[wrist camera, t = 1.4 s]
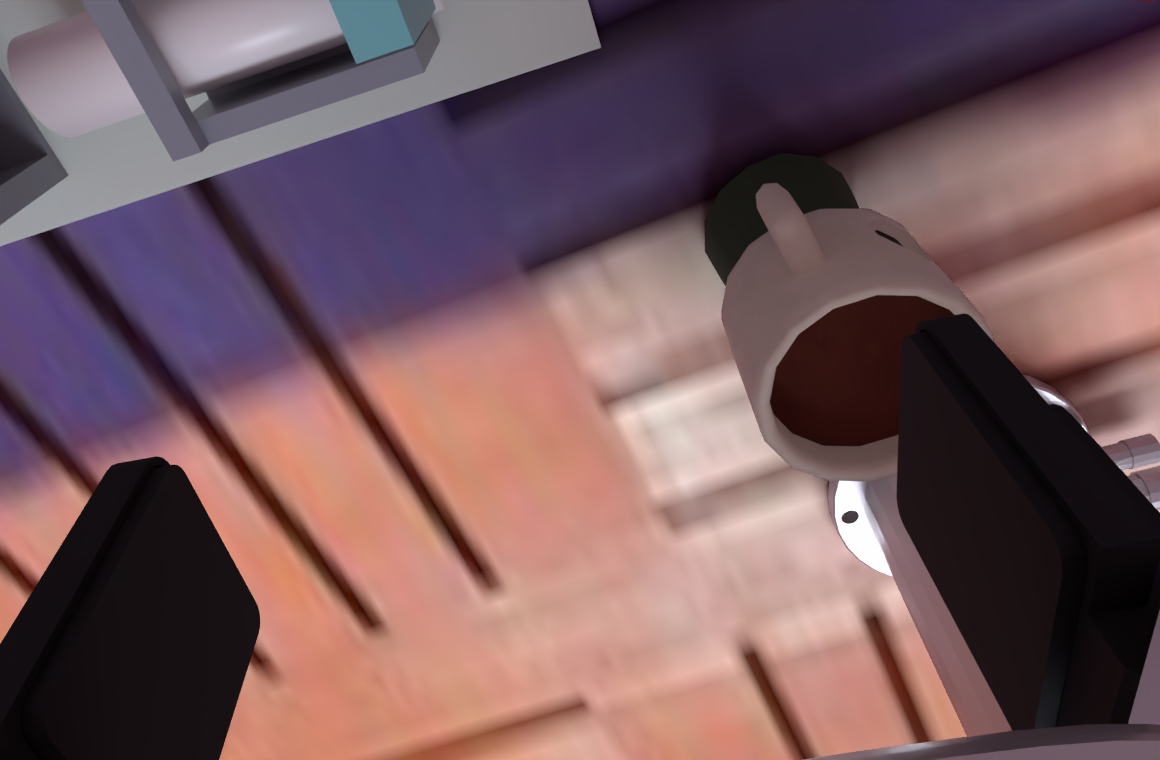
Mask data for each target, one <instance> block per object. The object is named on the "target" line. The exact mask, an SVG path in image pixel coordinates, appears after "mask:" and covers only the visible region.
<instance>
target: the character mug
mask: <svg viewBox="0 0 1160 760" xmlns="http://www.w3.org/2000/svg"><path fill="white" fill-rule="evenodd" d="M705 252H706V254H707V255H708V257H709V259H710V261H711V262H712V264H713V266H714V268H715V269H716V271H717V273H718V275H719V276H720V278H721V280H722V281H723V283H724V284H725V286H726V289H725V295H724V300H723V306H722V321H723V325H724V328H725V331H726V334H727V337H728V341H729V344H730V347H731V350H732V353H733V356H734V359H735V361H736V364H737V367H738V370H739V373H740V375H741V378H742V381H743V384H744V386H745V389H746V392H747V395H748V398H749V400H750V403H751V406H752V409H753V412H754V414H755V417H756V420H757V423H758V425H759V428H760V431H761V433H762V436H763V438H764V440H765V442H766V443H767V444H768V445H769V446H770V447H771V448H772V449H773V450H774V451H776V452H777V453H778V454H779V455H780V456H781V457H782V458H783V459H784V460H785V461H786V462H787V463H788V464H789V465H790V466H791V467H793V468H795V469H798V470H801V471H803V472H806V473H809V474H812V475H814V476H817V477H820V478H822V479H825V480H828V481H875V480H878V479H882V478H885V477H889V476H892V475H896V474H897V462H898V432H899V402H900V371H901V346H902V340H903V337H904V336H906V335H911V334H915V329H916V326H917V324H918V323H919V322H920V321H924V320H929V319H935V318H941V317H946V316H952V315H957V314H963V313H964V314H969V315H970V316H971V317H972V318H973V319H974V320H975V321H976V322H977V323H978V325H979V326H980V327H981V328H982V329H983V330H984V331H985V333H986V334H987V335H988V336H989V337H990V338H991V339H992V341H993V342H994V340H993V335H992V332H991V330H990V328H989V327H988V325H987V323H986V322H985V320H984V318H983V317H982V315H981V314H980V313H979V311H978V310H977V309H976V308H975V306H974V305H973V304H972V303H971V302H970V301H969V300H968V299H967V297H966V296H965V295H964V294H963V293H962V292H961V291H960V289H959V288H958V287H957V286H956V285H955V284H954V283H953V282H952V281H951V280H950V279H949V278H948V277H947V275H946V274H945V273H944V272H943V271H942V270H941V268H940V267H939V266H938V265H937V264H936V263H935V262H934V261H933V260H932V259H931V258H930V257H929V256H928V254H927V253H926V252H925V251H924V250H923V249H922V248H921V247H920V245H919V244H918V243H917V242H916V240H915V239H914V238H913V237H912V236H911V234H910V233H909V232H908V231H907V230H906V229H905V227H904V226H902V225H901V224H900V223H898V222H896V221H894V220H892V219H890V218H888V217H886V216H884V215H882V214H880V213H878V212H876V211H873V210H871V209H859V207H858V204H857V202H856V200H855V197H854V195H853V193H852V191H851V190H850V188H849V186H848V184H847V182H846V181H845V179H844V177H843V175H842V173H840V172H838V171H837V170H835V169H834V168H832V167H831V166H829V165H828V164H826V163H825V162H823V161H822V160H820V159H819V158H817V157H814V156H805V155H796V154H788V153H780V154H777V155H775V156H772V157H770V158H767V159H765V160H762V161H760V162H757V163H755V164H752V165H750V166H747V167H746V168H745V169H744V170H743V171H742V172H741V173H739V174H738V175H737V176H736V177H735V178H734V179H733V180H731V181H730V182H729V183H728V184H727V185H726V186H725V187H723V188H722V189H721V190H720V192H719V194H718V196H717V198H716V200H715V202H714V204H713V206H712V208H711V210H710V212H709V214H708V216H707V218H706V220H705Z"/></svg>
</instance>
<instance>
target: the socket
mask: <svg viewBox="0 0 1160 760" xmlns="http://www.w3.org/2000/svg"><path fill="white" fill-rule="evenodd" d="M67 176H69V175H68V173H67V172H66V170H65V169H64V167H63V166H62V164H61V162H60V161H59V159H58V158H57V156H56V155H55V153H54V152H53V150H52V148H51V147H50V145H49V144H48V142H47V141H46V139H45V137H44V136H43V134H42V133H41V131H40V130H39V128H38V127H37V125H36V123H35V122H34V120H33V119H32V117H31V116H30V114H29V113H28V111H27V109H26V108H25V106H24V105H23V103H22V102H21V100H20V98H19V97H18V95H17V94H16V92H15V91H14V89H13V88H12V86H11V84H10V83H9V81H8V80H7V78H6V77H5V75H4V73H3V72H2V70H1V69H0V225H1V224H3V223H4V222H5V221H7V220H8V219H9V218H11V217H12V216H14V215H15V214H16V213H18V212H19V211H20V210H22V209H23V208H25V207H26V206H27V205H29V204H30V203H31V202H33V201H34V200H36V199H37V198H38V197H40V196H41V195H43V194H44V193H45V192H47V191H48V190H49V189H51V188H52V187H54V186H55V185H56V184H58V183H59V182H60V181H62V180H63V179H65V178H66V177H67Z"/></svg>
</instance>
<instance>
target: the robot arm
mask: <svg viewBox="0 0 1160 760" xmlns="http://www.w3.org/2000/svg"><path fill="white" fill-rule="evenodd" d="M1157 462H1160V444H1159V442H1158V441H1157V439H1156V438H1155V437H1154V436H1153V435H1151V434H1146V435H1142V436H1138V437H1134V438H1130V439H1126V440H1122V441H1119V442H1118V443H1116V444H1112V445H1108V446H1104V447H1101V446H1100V445H1099V444H1097V442H1096V441H1095V440H1094V439H1093V438H1092V437H1091V436H1090V432H1089V430H1088V428H1087V426H1086V424H1085V422H1084V421H1083V419H1082V417H1081V415H1080V414H1079V413H1078V412H1077V410H1076V409H1075V408H1074V407H1073V406H1072V405H1071V404H1070V402H1069V401H1068V400H1067V399H1066V398H1065V397H1064V396H1062V395H1061V394H1060V393H1059V392H1057V391H1056V390H1055V389H1054V388H1053V387H1051V386H1050V385H1048V384H1046V383H1043V382H1041V381H1039V380H1037V379H1035V378H1033V377H1031V376H1027V375H1022V374H1021V373H1020V371H1019V370H1018V369H1017V368H1016V367H1015V366H1014V365H1013V363H1012V362H1011V361H1010V360H1009V359H1008V358H1007V357H1006V355H1005V354H1004V353H1003V352H1002V351H1001V350H1000V349H999V347H998V346H997V345H996V344H995V343H994V342H993V341H992V339H991V338H990V337H989V336H988V335H987V334H986V333H985V331H984V330H983V329H982V328H981V327H980V326H979V325H978V323H977V322H976V321H975V320H974V319H973V318H972V317H971V316H970V315H969V314H964V313H963V314H957V315H952V316H946V317H941V318H935V319H929V320H924V321H920V322H919V323H918V324H917V326H916V329H915V334H911V335H906V336H904V337H903V340H902V346H901V371H900V402H899V432H898V462H897V474H896V475H892V476H889V477H885V478H882V479H878V480H875V481H829V489H828V501H829V508H830V514H831V517H832V519H833V522H834V525H835V527H836V530H837V532H838V534H839V536H840V538H841V539H842V541H843V543H844V544H845V546H846V548H847V549H848V550H849V551H850V552H851V553H852V554H853V555H854V556H855V557H856V558H857V559H858V560H860V561H861V562H863V563H864V564H866V565H868V566H869V567H871V568H872V569H874V570H876V571H879V572H881V573H884V574H887V575H889V576H892V577H893V578H894V580H895V582H896V585H897V587H898V589H899V591H900V593H901V595H902V598H903V600H904V602H905V604H906V606H907V608H908V610H909V613H910V615H911V617H912V619H913V621H914V623H915V625H916V628H917V630H918V632H919V634H920V636H921V638H922V640H923V643H924V645H925V647H926V649H927V651H928V653H929V655H930V658H931V660H932V662H933V664H934V666H935V668H936V671H937V673H938V675H939V677H940V679H941V681H942V683H943V686H944V688H945V690H946V692H947V694H948V696H949V698H950V701H951V703H952V705H953V707H954V709H955V711H956V713H957V716H958V718H959V720H960V722H961V724H962V726H963V728H964V731H965V733H966V735H967V737H962V738H954V739H947V740H939V741H932V742H924V743H917V744H909V745H902V746H894V747H887V748H879V749H872V750H864V751H857V752H851V753H844V754H837V755H830V756H824V757H817V758H810V759H804V760H1160V513H1159V511H1158V510H1157V509H1160V466H1156V467H1152V468H1148V469H1144V470H1140V471H1136V472H1132V473H1131V474H1130V475H1129V476H1126V475H1125V474H1124V472H1123V471H1122V470H1123V469H1127V468H1128V469H1133V468H1137V467H1141V466H1145V465H1149V464H1153V463H1157ZM259 629H260V614H259V609H258V606H257V604H256V602H255V600H254V598H253V596H252V594H251V592H250V591H249V589H248V587H247V585H246V583H245V581H244V580H243V578H242V576H241V574H240V572H239V570H238V569H237V567H236V565H235V563H234V561H233V560H232V558H231V556H230V554H229V552H228V550H227V549H226V547H225V545H224V543H223V541H222V539H221V538H220V536H219V534H218V532H217V530H216V528H215V527H214V525H213V523H212V521H211V519H210V518H209V516H208V514H207V512H206V510H205V508H204V507H203V505H202V503H201V501H200V499H199V497H198V496H197V494H196V492H195V490H194V488H193V486H192V485H191V483H190V481H189V479H188V477H187V475H186V474H185V472H184V471H183V469H182V468H181V467H179V466H178V465H170V464H169V463H168V462H167V461H166V460H165V459H163V458H162V457H151V458H146V459H140V460H134V461H129V462H123V463H117V464H115V465H112V466H111V467H110V468H109V469H108V470H107V472H106V473H105V475H104V476H103V478H102V480H101V481H100V483H99V485H98V486H97V488H96V489H95V491H94V493H93V494H92V496H91V498H90V499H89V501H88V502H87V504H86V506H85V507H84V509H83V511H82V512H81V514H80V515H79V517H78V519H77V520H76V522H75V524H74V525H73V527H72V528H71V530H70V532H69V533H68V535H67V537H66V538H65V540H64V541H63V543H62V545H61V546H60V548H59V550H58V551H57V553H56V554H55V556H54V558H53V559H52V561H51V563H50V564H49V566H48V567H47V569H46V571H45V572H44V574H43V576H42V577H41V579H40V580H39V582H38V584H37V585H36V587H35V589H34V590H33V592H32V593H31V595H30V597H29V598H28V600H27V602H26V603H25V605H24V606H23V608H22V610H21V611H20V613H19V615H18V616H17V618H16V619H15V621H14V623H13V624H12V626H11V628H10V629H9V631H8V632H7V634H6V636H5V637H4V639H3V641H2V642H1V644H0V760H219V758H220V755H221V752H222V748H223V745H224V742H225V739H226V736H227V732H228V729H229V726H230V723H231V720H232V716H233V713H234V710H235V707H236V704H237V700H238V697H239V694H240V691H241V688H242V685H243V681H244V678H245V675H246V672H247V669H248V665H249V662H250V659H251V656H252V653H253V649H254V646H255V643H256V640H257V637H258V633H259Z"/></svg>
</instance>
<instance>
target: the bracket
mask: <svg viewBox="0 0 1160 760" xmlns="http://www.w3.org/2000/svg"><path fill="white" fill-rule="evenodd" d="M81 1H82V2H83V4H84V6H85V8H86V10H87V11H88V13H89V15H90V17H91V18H92V20H93V22H94V24H95V25H96V27H97V29H98V31H99V32H100V34H101V36H102V38H103V39H104V41H105V43H106V45H107V46H108V48H109V50H110V52H111V53H112V55H113V57H114V59H115V60H116V62H117V64H118V66H119V67H120V69H121V71H122V73H123V74H124V76H125V78H126V80H127V81H128V83H129V85H130V87H131V88H132V90H133V92H134V94H135V96H136V97H137V99H138V101H139V103H140V104H141V106H142V108H143V110H144V111H145V113H146V115H147V117H148V118H149V120H150V122H151V124H152V125H153V127H154V129H155V131H156V132H157V134H158V136H159V138H160V139H161V141H162V143H163V145H164V146H165V148H166V150H167V152H168V153H169V155H170V157H171V159H172V160H173V162H174V161H177V160H180V159H183V158H186V157H189V156H192V155H195V154H198V153H201V152H202V151H203V150H204V149H205V148H206V147H208V146H209V145H210V144H213V143H216V142H219V141H222V140H225V139H228V138H231V137H234V136H237V135H240V134H243V133H246V132H249V131H252V130H255V129H258V128H261V127H264V126H267V125H270V124H273V123H276V122H279V121H282V120H284V119H287V118H290V117H293V116H296V115H299V114H302V113H305V112H308V111H311V110H314V109H317V108H320V107H323V106H326V105H329V104H332V103H335V102H338V101H341V100H344V99H347V98H350V97H353V96H356V95H359V94H362V93H365V92H368V91H371V90H374V89H377V88H380V87H383V86H386V85H389V84H392V83H395V82H398V81H401V80H404V79H407V78H410V77H413V76H416V75H419V74H422V73H424V72H425V70H426V68H427V66H428V64H429V62H430V60H431V58H432V56H433V54H434V52H435V50H436V48H437V46H438V44H439V42H440V38H439V36H438V33H437V30H436V28H435V25H434V22H433V20H432V17H430V19H429V21H428V22H427V24H426V25H425V27H424V29H423V30H422V32H421V34H420V35H419V37H418V39H417V40H416V42H415V43H414V44H413V45H410V46H408V47H405V48H402V49H399V50H396V51H393V52H390V53H387V54H384V55H381V56H378V57H375V58H372V59H369V60H366V61H363V62H361V63H358V64H356V62H355V60H354V57H353V55H352V53H351V50H350V48H349V46H348V43H346V44H343V45H341V46H338V47H335V48H332V49H329V50H326V51H323V52H320V53H317V54H314V55H312V56H309V57H306V58H303V59H300V60H297V61H294V62H291V63H288V64H285V65H282V66H280V67H277V68H274V69H271V70H268V71H265V72H262V73H259V74H256V75H253V76H251V77H248V78H245V79H242V80H239V81H236V82H233V83H230V84H227V85H224V86H221V87H219V88H216V89H213V90H210V91H207V92H206V94H207V96H208V98H209V99H208V100H207V101H205V102H204V103H203V104H202V105H200V106H199V107H198V108H197V109H195V110H194V111H193V112H192V111H191V110H190V108H189V106H188V104H187V102H186V100H185V98H184V97H183V95H182V93H181V91H180V89H179V87H178V86H177V84H176V82H175V80H174V78H173V76H172V74H171V73H170V71H169V69H168V67H167V65H166V63H165V62H164V60H163V58H162V56H161V54H160V52H159V50H158V49H157V47H156V45H155V43H154V41H153V39H152V38H151V36H150V34H149V32H148V30H147V28H146V26H145V25H144V23H143V21H142V19H141V17H140V15H139V14H138V12H137V10H136V8H135V6H134V4H133V2H132V1H131V0H81Z"/></svg>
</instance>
